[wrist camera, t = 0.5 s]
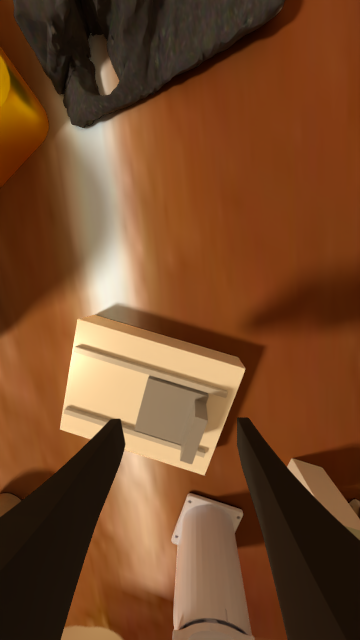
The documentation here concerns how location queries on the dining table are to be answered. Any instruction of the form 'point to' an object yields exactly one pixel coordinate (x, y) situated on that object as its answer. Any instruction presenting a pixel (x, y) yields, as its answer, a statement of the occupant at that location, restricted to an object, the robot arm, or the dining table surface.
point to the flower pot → (7, 502)
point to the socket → (143, 385)
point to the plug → (326, 493)
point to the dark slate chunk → (131, 43)
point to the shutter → (174, 415)
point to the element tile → (18, 120)
